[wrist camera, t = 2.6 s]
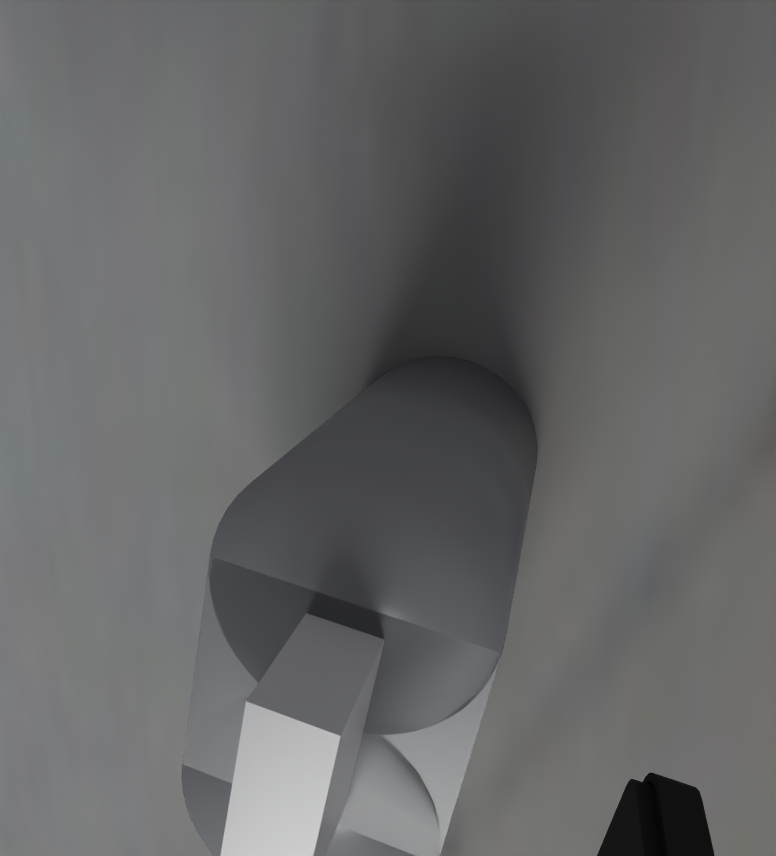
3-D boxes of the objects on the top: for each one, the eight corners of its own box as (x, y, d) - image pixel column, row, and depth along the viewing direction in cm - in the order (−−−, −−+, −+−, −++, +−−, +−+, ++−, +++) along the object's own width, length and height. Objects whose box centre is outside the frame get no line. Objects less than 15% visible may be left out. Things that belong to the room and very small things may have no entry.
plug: (560, 384, 15) (536, 588, 7) (469, 693, 18) (375, 1099, 10) (369, 335, 16) (144, 466, 8) (310, 638, 19) (98, 971, 11)
